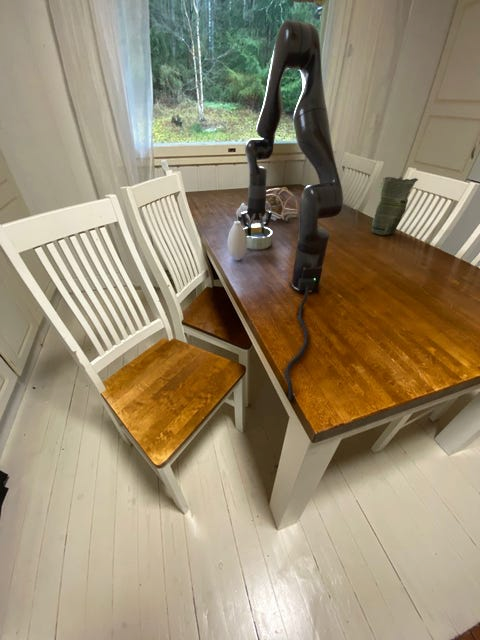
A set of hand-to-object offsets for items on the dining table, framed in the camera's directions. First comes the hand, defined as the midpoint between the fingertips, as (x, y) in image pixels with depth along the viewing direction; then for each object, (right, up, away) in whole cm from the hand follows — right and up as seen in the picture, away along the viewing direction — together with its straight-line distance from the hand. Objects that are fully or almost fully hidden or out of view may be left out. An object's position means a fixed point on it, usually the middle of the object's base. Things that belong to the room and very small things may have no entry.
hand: (255, 234), depth 125 cm
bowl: (0, -4, 0) cm, 4 cm away
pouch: (+64, +5, +11) cm, 65 cm away
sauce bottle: (-8, -14, -12) cm, 20 cm away
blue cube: (+1, -5, -3) cm, 6 cm away
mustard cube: (0, 0, 0) cm, 0 cm away
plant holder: (+8, +18, +27) cm, 34 cm away
